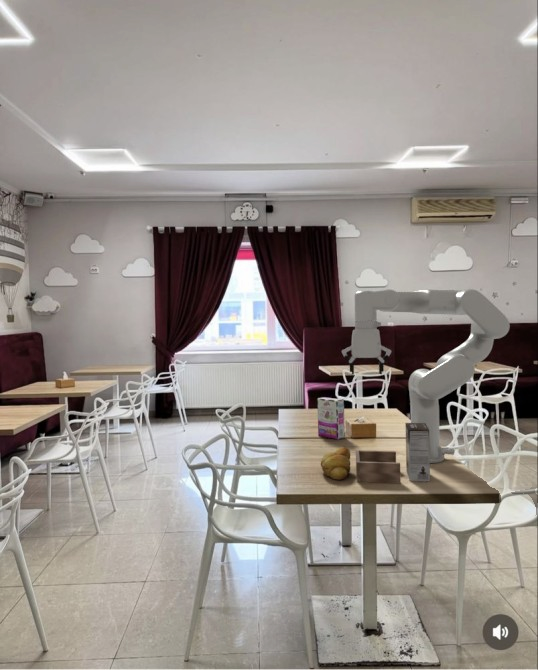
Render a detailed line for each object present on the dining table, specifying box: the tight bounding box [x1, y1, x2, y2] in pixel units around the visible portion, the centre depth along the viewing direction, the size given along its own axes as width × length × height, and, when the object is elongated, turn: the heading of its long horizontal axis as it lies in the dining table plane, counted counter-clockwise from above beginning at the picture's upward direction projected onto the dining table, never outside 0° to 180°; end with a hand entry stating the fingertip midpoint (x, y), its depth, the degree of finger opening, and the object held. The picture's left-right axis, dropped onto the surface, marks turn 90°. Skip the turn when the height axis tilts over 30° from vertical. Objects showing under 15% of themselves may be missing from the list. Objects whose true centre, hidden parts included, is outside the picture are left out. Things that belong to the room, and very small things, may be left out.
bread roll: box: [320, 446, 351, 481], centre depth 143 cm, size 13×10×8 cm
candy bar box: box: [317, 396, 346, 440], centre depth 190 cm, size 11×5×16 cm, turn 42°
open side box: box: [355, 449, 401, 484], centre depth 141 cm, size 13×13×6 cm
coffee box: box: [404, 422, 431, 482], centre depth 139 cm, size 9×6×16 cm
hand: (366, 373), depth 158 cm, fingers open, 9 cm apart
